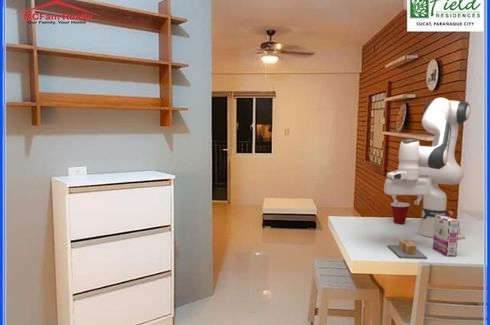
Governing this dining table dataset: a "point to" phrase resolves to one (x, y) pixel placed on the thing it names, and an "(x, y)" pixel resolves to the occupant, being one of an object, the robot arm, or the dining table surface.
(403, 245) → the oak block
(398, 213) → the plastic cup
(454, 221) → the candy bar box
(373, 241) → the dining table surface
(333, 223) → the dining table surface
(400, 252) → the slate mat
